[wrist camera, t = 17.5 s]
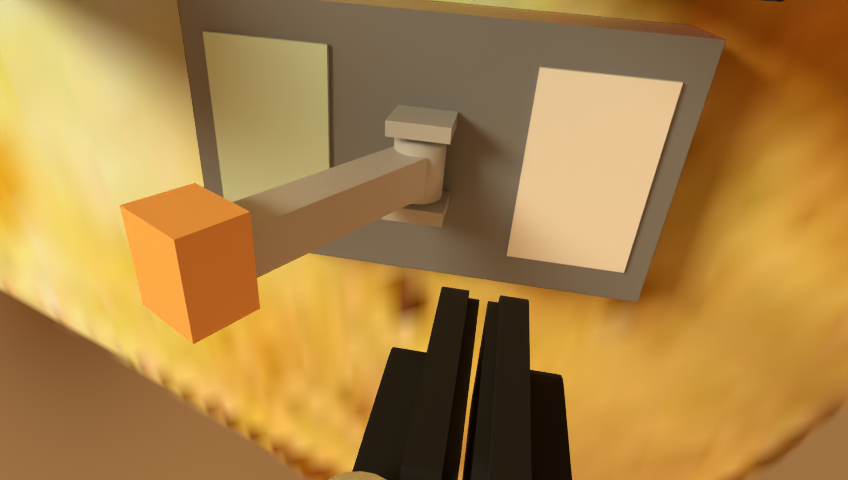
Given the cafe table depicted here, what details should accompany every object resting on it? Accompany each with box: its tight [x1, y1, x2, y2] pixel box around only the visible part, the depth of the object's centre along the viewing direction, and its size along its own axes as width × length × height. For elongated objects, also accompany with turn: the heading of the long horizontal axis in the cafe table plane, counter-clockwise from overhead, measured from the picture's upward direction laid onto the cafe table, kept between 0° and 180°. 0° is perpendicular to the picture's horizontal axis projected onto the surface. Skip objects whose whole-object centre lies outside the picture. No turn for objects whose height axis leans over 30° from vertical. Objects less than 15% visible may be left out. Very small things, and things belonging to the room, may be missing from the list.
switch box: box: [177, 0, 726, 302], centre depth 22 cm, size 11×20×6 cm, turn 85°
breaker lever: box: [120, 138, 447, 344], centre depth 17 cm, size 3×2×12 cm
